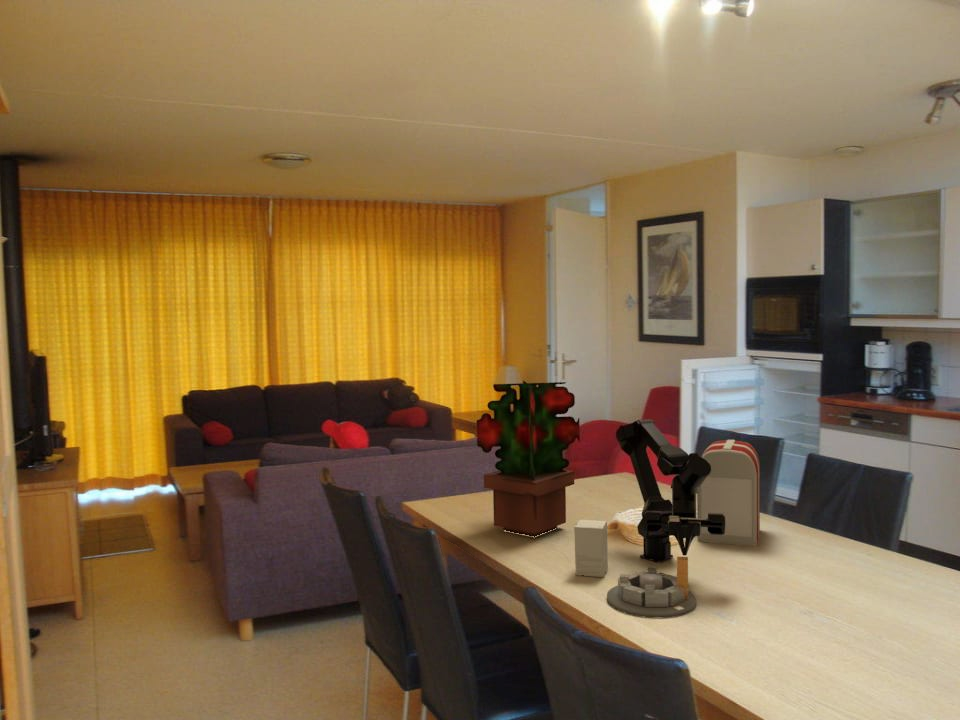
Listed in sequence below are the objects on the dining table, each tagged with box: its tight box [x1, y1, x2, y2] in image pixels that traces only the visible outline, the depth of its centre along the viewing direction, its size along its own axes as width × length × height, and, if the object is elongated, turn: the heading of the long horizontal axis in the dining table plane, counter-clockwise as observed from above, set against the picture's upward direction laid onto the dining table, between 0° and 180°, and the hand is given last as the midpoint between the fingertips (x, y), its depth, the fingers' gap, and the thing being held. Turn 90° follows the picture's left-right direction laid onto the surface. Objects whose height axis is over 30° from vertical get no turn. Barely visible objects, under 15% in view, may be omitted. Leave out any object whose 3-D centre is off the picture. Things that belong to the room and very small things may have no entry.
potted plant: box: [476, 380, 581, 537], centre depth 242 cm, size 22×22×45 cm
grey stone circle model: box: [606, 574, 697, 618], centre depth 183 cm, size 20×20×6 cm
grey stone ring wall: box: [617, 556, 689, 607], centre depth 183 cm, size 15×14×9 cm
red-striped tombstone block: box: [696, 439, 761, 547], centre depth 233 cm, size 16×18×27 cm
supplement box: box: [573, 519, 609, 578], centre depth 203 cm, size 7×7×13 cm
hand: (684, 554), depth 187 cm, fingers closed
